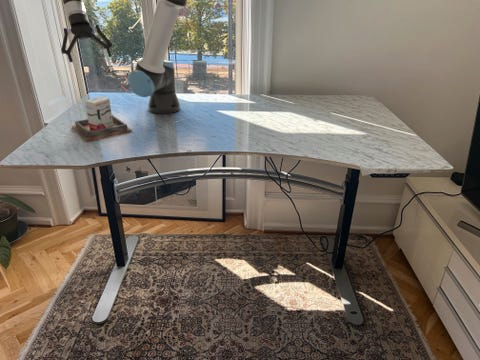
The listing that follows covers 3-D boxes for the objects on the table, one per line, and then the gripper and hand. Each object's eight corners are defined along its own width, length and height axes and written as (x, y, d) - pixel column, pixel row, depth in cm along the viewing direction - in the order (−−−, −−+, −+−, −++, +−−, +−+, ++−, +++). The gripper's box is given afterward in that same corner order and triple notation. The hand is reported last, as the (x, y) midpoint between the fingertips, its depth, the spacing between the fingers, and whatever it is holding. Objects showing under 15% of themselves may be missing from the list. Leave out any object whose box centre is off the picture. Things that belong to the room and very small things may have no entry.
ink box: (98, 131, 136) (93, 102, 131) (89, 129, 138) (83, 100, 132) (114, 125, 143) (109, 97, 137) (105, 123, 145) (100, 95, 139)
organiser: (114, 119, 152) (113, 113, 151) (131, 131, 140) (131, 124, 139) (72, 127, 142) (70, 121, 140) (87, 141, 130) (85, 134, 129)
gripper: (107, 16, 149) (122, 65, 152) (44, 22, 139) (61, 74, 142) (109, 9, 142) (124, 60, 145) (43, 14, 132) (61, 69, 135)
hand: (93, 67), depth 144 cm, fingers open, 13 cm apart
